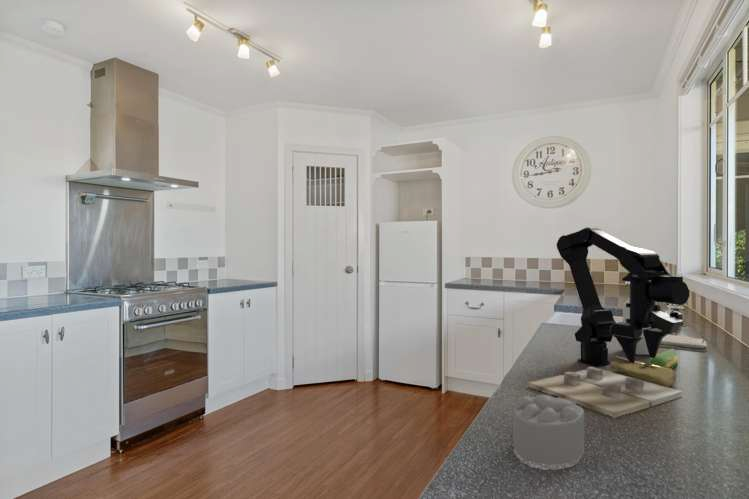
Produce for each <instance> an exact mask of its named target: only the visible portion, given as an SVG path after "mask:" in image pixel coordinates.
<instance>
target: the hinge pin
mask: <svg viewBox="0 0 749 499" xmlns="http://www.w3.org/2000/svg"><path fill="white" fill-rule="evenodd" d="M610 370H611V372H612V373H616V374H620V375H623V376H627V377H632V378H636V379H640V380H643V381H646V382H649V383H653V384H657V385H661V386H664V387H668V388H672V387H674V385H675V384H676V382H677V381H676V380H677V374H676V372H675V370H674V368H672V369H669V368H665V367H660V366H656V365H652V364H650V363H646V362H642V361H638V360H635V361H634V363H631V362H629V360H628V358H627V357H621V356H617V355H616V356H614V357H612V359H611V360H610Z"/></svg>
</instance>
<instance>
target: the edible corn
mask: <svg viewBox="0 0 749 499" xmlns="http://www.w3.org/2000/svg"><path fill="white" fill-rule="evenodd" d="M678 361H679V358H678V356H677V352H676V350H675V348H669V349H667V350H665V351H662V352H660V353H657V355H656V357H655V358H651V357H650V358H649V364H652V365H656V366H660V367H665V368H669V369H674V367H675V366H677V365H678V363H679V362H678Z"/></svg>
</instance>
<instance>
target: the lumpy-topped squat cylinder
mask: <svg viewBox="0 0 749 499" xmlns="http://www.w3.org/2000/svg"><path fill="white" fill-rule="evenodd" d="M516 402H517V403H516V404H515V405H514V406H513V409H512V426H513V428H512V432H513V433H512V435H513V436H512V439H513V440H512V441H513V442H512V443H513V444H512V446H514V449H515V451H516V452H517V454H519V455H520V456H521V457H522V458H524V459H526V460H528V461H531V462H536V463H541V464H542V463H543V464H564V463H570V462H573V461H575V460H577V459H578V458H579V457H580V456H581V455H582V453H583V451H584V452H585V410H584V408H583V407H582V406H579V405H576V404H573V403H572V402H570V401H569V400H566V399H562V398H557V397H554V396H551V395H549V394H539V395H536V396H531V397H530V396H528V395H525V396H524V395H523V396H522V397H521V396H520V398H519V399H517V401H516Z"/></svg>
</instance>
